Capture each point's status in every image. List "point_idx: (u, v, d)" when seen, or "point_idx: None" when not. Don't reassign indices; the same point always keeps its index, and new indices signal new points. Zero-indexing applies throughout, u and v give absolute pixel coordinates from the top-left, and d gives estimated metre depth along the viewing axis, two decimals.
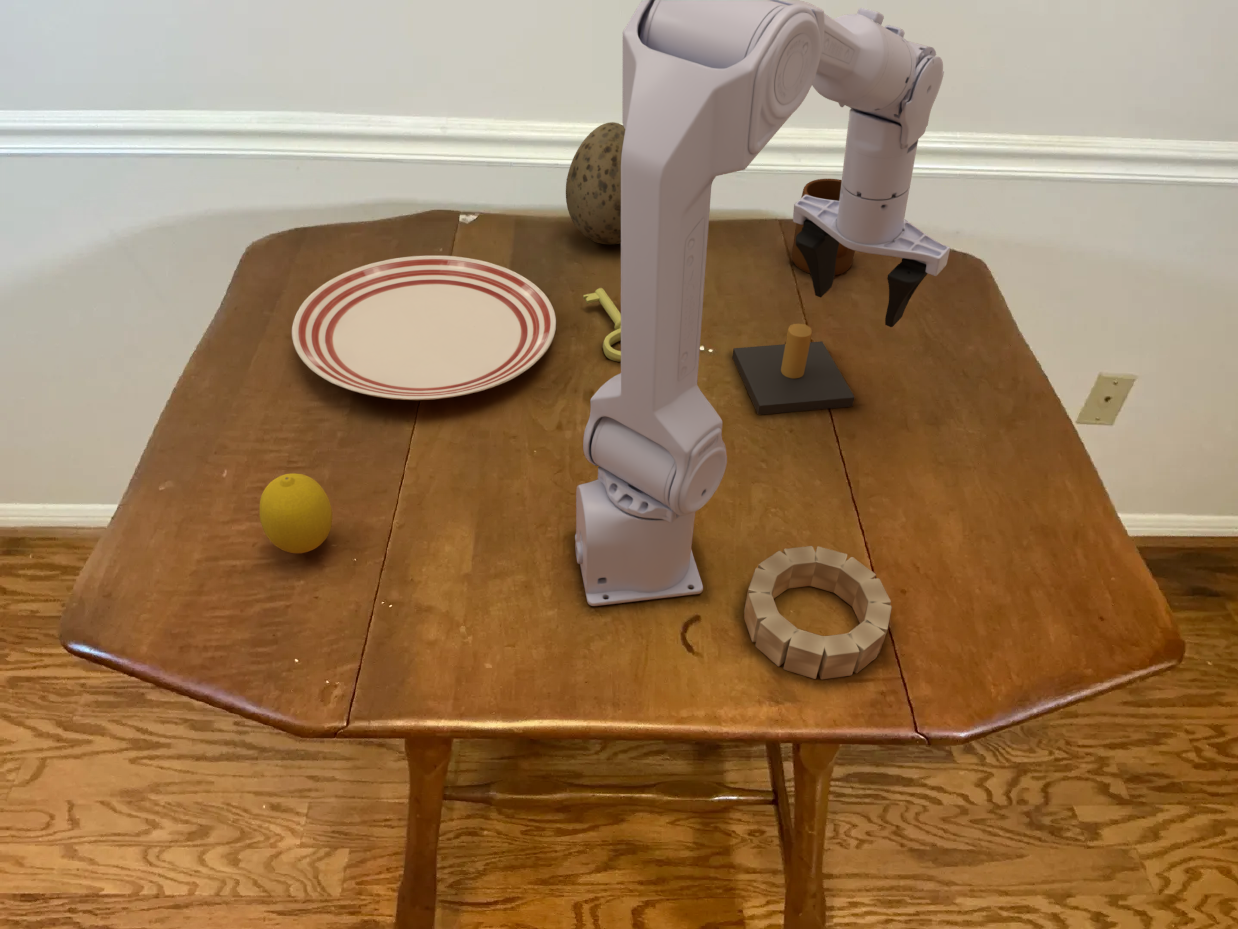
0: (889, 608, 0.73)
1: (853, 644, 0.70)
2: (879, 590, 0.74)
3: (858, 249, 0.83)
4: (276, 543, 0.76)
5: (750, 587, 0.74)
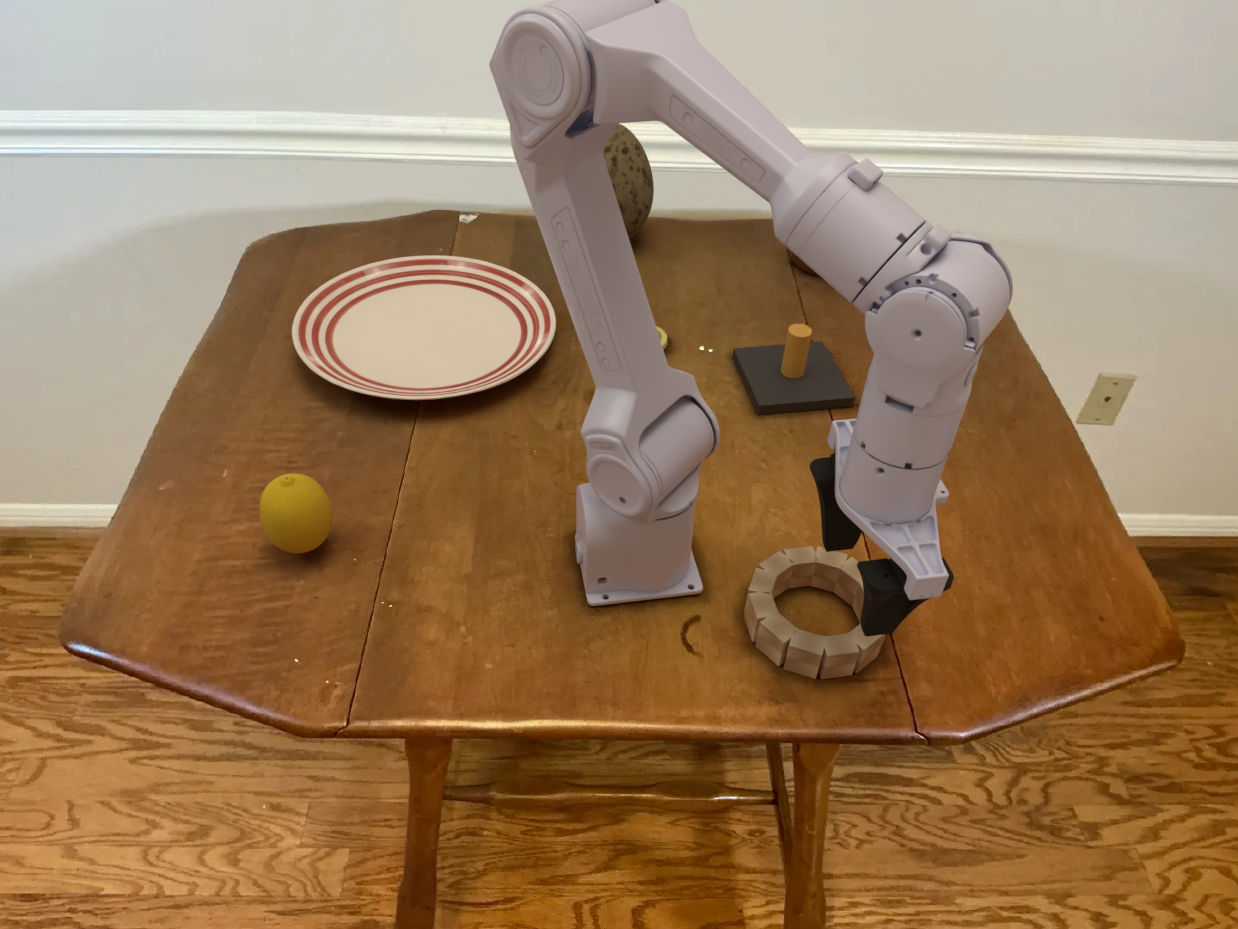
0: None
1: (853, 644, 0.70)
2: None
3: (842, 509, 0.59)
4: (276, 543, 0.76)
5: (750, 587, 0.74)
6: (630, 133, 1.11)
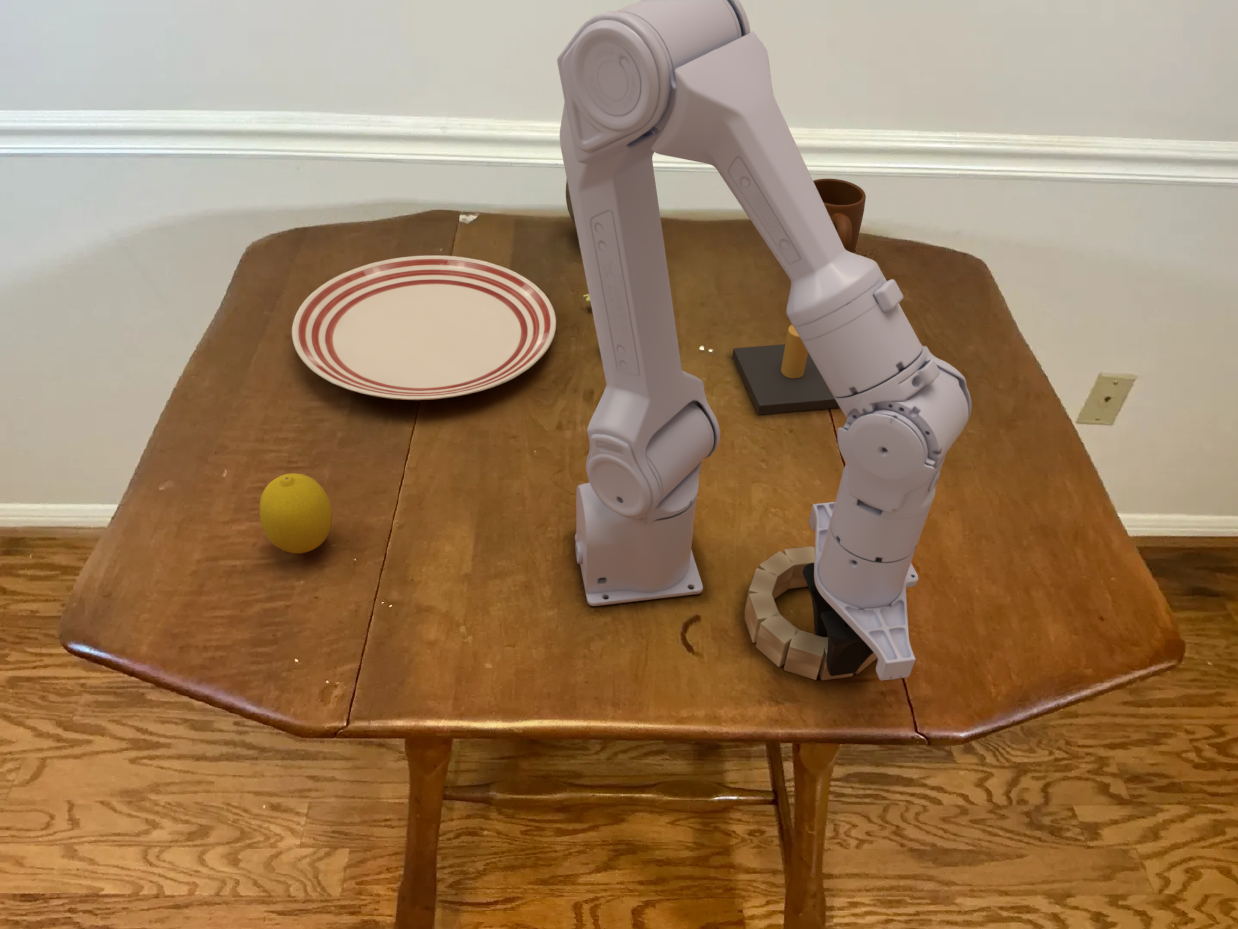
0: None
1: None
2: None
3: (820, 593, 0.64)
4: (276, 543, 0.76)
5: (750, 588, 0.74)
6: None
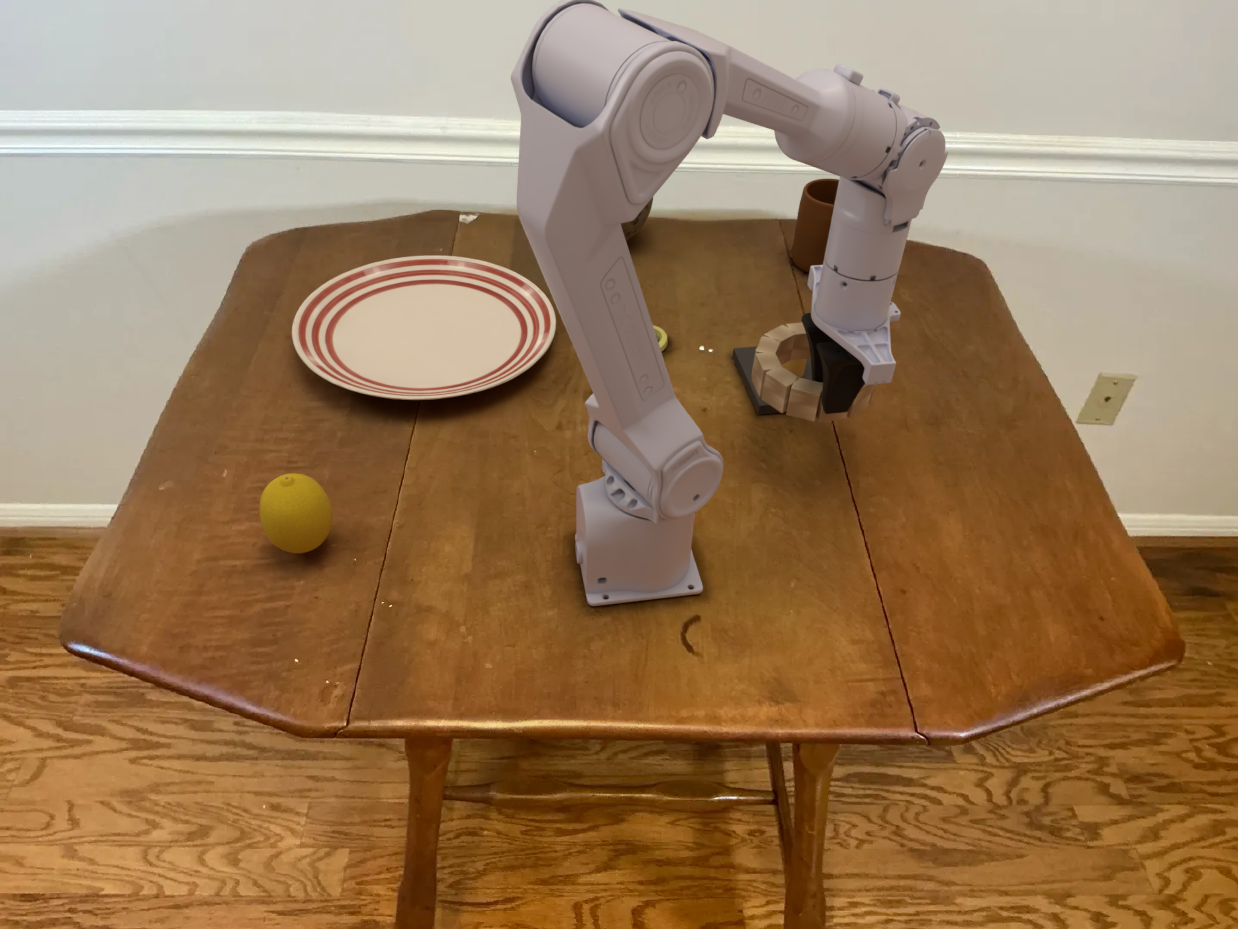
0: None
1: None
2: None
3: (816, 324, 0.75)
4: (276, 543, 0.76)
5: (757, 349, 0.84)
6: None
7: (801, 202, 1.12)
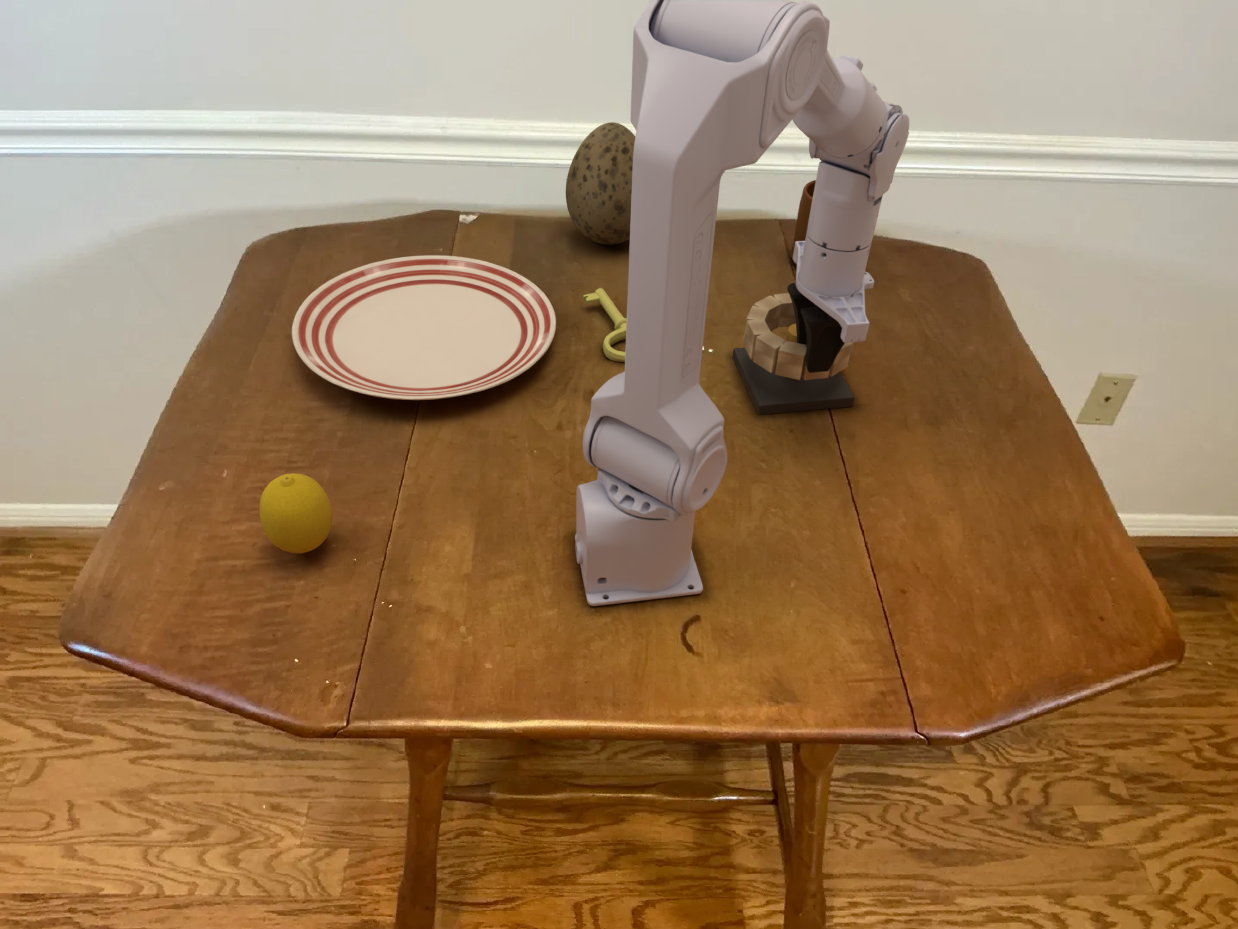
0: None
1: None
2: None
3: (800, 291, 0.85)
4: (276, 543, 0.76)
5: (748, 317, 0.95)
6: (630, 133, 1.11)
7: (801, 202, 1.12)
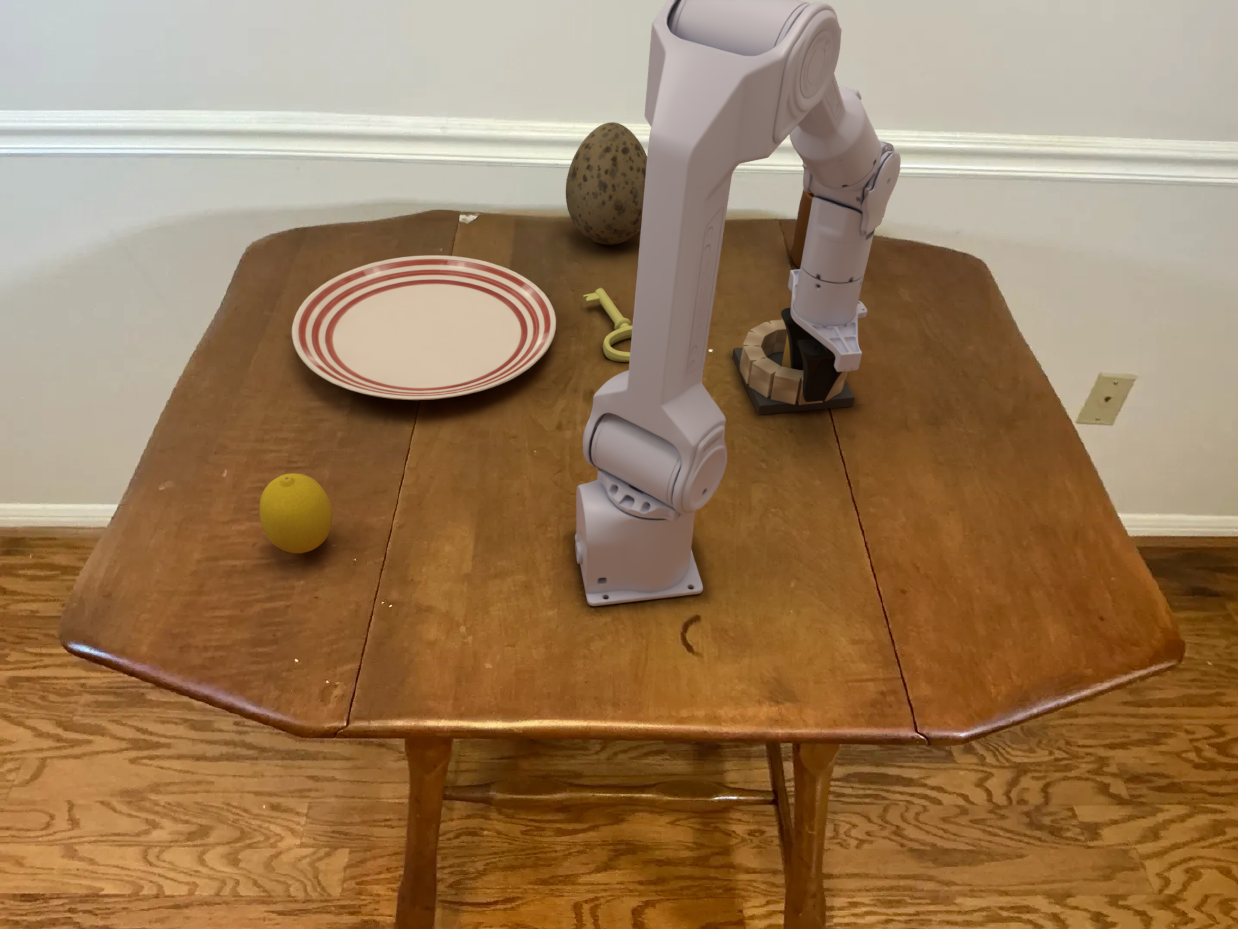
0: None
1: None
2: None
3: (795, 320, 0.87)
4: (276, 543, 0.76)
5: (744, 342, 0.97)
6: (630, 133, 1.11)
7: (801, 202, 1.12)
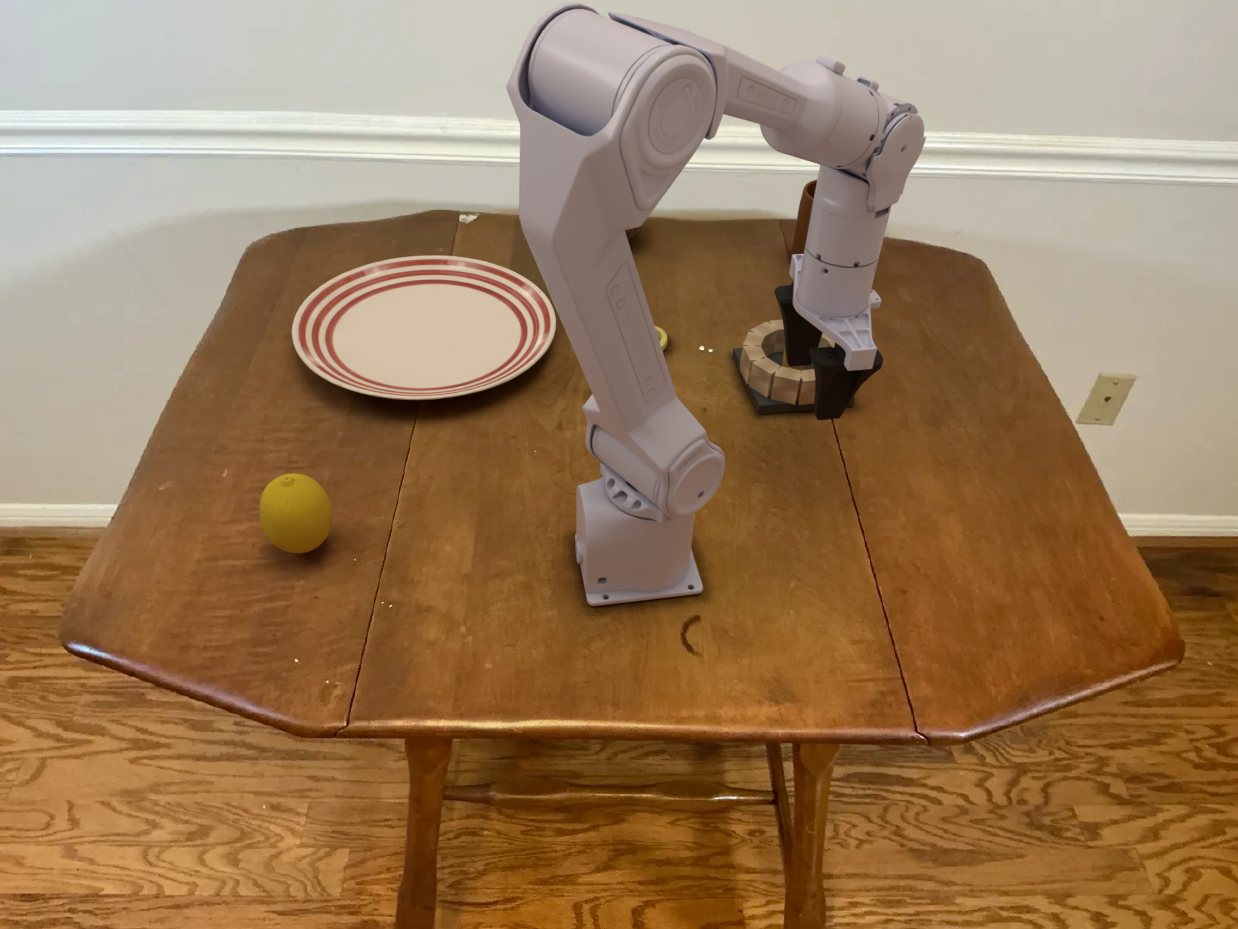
0: None
1: None
2: None
3: (798, 311, 0.76)
4: (276, 543, 0.76)
5: (744, 342, 0.97)
6: None
7: (801, 202, 1.12)
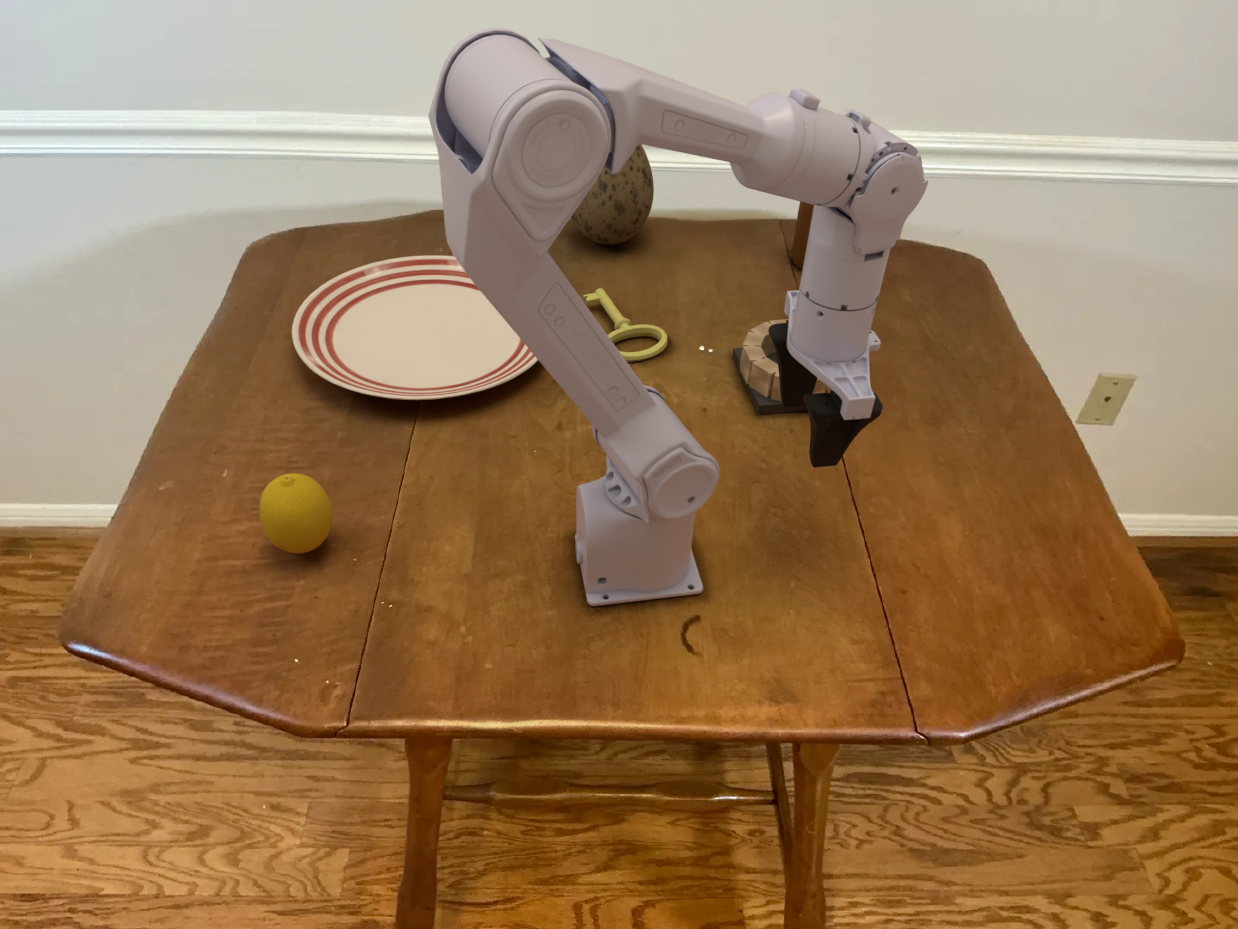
0: None
1: None
2: None
3: (792, 354, 0.71)
4: (276, 543, 0.76)
5: (744, 342, 0.97)
6: None
7: (801, 202, 1.12)
